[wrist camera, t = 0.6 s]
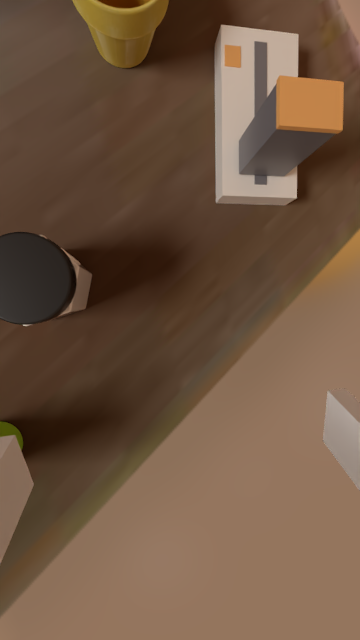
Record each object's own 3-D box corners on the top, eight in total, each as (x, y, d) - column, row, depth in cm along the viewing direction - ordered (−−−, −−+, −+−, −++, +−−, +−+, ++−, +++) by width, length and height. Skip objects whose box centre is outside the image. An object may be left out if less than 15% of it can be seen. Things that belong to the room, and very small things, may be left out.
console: (285, 205, 42) (297, 197, 38) (216, 203, 40) (222, 195, 37) (286, 53, 40) (298, 33, 37) (214, 45, 39) (221, 23, 36)
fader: (284, 177, 38) (342, 130, 27) (238, 174, 37) (279, 125, 26) (285, 142, 37) (343, 81, 27) (237, 139, 36) (279, 75, 26)
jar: (107, 285, 39) (95, 278, 27) (64, 332, 38) (33, 346, 26) (51, 236, 37) (12, 207, 25) (6, 285, 37) (-54, 278, 25)
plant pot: (96, 95, 37) (83, 22, 27) (65, 7, 36) (40, -102, 26) (174, 74, 38) (188, -2, 28) (146, -12, 37) (151, -122, 27)
